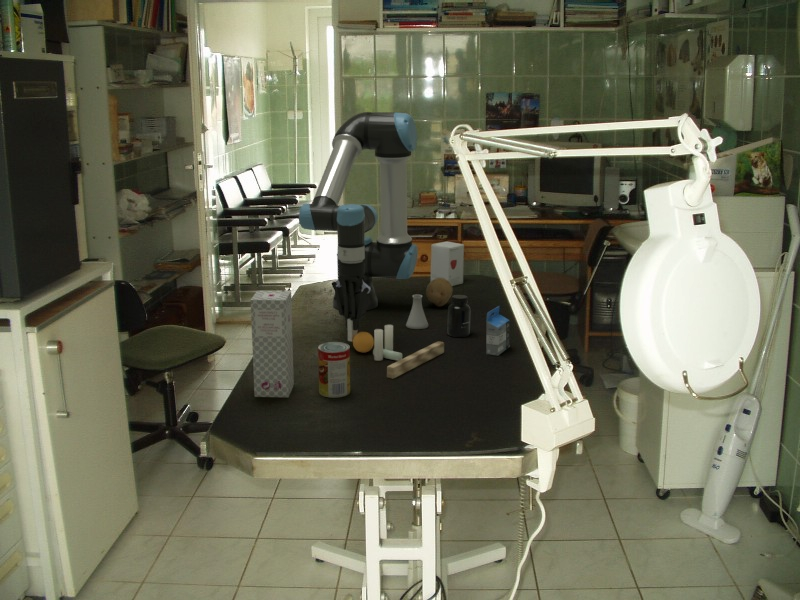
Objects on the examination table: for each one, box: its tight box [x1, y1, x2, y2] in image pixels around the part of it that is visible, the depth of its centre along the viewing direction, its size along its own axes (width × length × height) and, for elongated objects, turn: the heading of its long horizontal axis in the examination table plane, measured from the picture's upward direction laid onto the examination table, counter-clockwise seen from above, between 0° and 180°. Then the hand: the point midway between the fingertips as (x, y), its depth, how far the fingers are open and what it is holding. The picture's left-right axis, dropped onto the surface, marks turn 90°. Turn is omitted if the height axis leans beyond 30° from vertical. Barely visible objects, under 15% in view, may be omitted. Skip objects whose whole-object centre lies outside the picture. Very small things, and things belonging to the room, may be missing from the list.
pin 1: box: [373, 328, 384, 362], centre depth 245 cm, size 2×2×8 cm
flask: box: [405, 294, 429, 330], centre depth 275 cm, size 7×7×10 cm
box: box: [250, 290, 295, 398], centre depth 219 cm, size 8×8×25 cm
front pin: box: [372, 348, 403, 362], centre depth 247 cm, size 2×2×8 cm
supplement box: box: [430, 241, 465, 287], centre depth 327 cm, size 9×9×15 cm
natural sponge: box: [425, 278, 454, 308], centre depth 297 cm, size 9×9×10 cm
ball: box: [352, 331, 374, 354], centre depth 251 cm, size 6×6×6 cm
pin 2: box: [384, 324, 394, 351], centre depth 249 cm, size 2×2×8 cm
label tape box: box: [485, 305, 511, 357], centre depth 252 cm, size 9×4×12 cm, turn 151°
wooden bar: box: [386, 340, 445, 380], centre depth 242 cm, size 26×2×3 cm, turn 146°
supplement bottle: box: [447, 294, 471, 338], centre depth 267 cm, size 7×7×12 cm
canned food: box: [317, 341, 351, 399], centre depth 221 cm, size 8×8×12 cm
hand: (352, 339), depth 254 cm, fingers closed
